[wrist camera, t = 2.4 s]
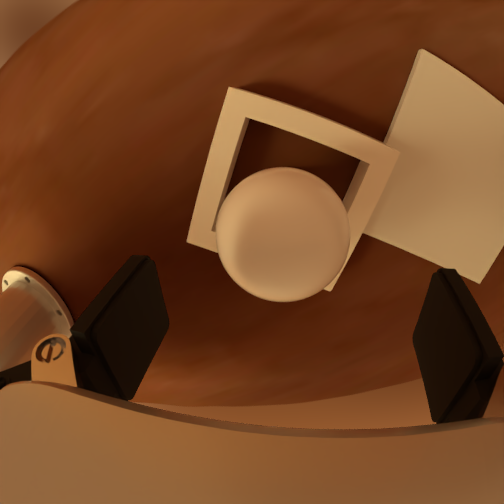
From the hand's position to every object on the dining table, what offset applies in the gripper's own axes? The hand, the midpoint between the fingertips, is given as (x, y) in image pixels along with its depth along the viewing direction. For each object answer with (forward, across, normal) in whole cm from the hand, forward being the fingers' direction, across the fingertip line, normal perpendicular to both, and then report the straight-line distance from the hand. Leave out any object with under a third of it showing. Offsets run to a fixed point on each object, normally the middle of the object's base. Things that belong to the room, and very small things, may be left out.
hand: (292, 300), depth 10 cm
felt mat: (+14, -12, -1) cm, 18 cm away
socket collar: (+13, +1, 0) cm, 13 cm away
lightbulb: (+13, +1, 0) cm, 13 cm away
